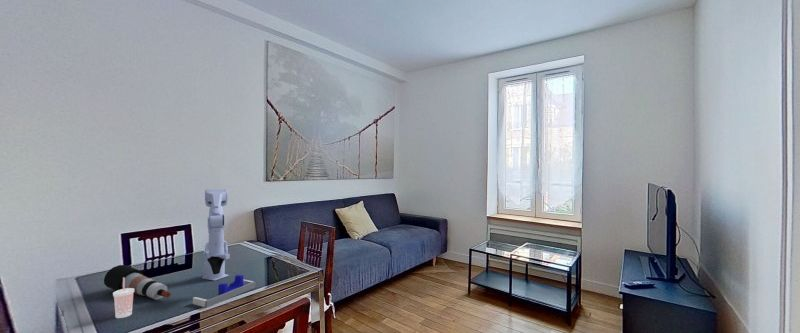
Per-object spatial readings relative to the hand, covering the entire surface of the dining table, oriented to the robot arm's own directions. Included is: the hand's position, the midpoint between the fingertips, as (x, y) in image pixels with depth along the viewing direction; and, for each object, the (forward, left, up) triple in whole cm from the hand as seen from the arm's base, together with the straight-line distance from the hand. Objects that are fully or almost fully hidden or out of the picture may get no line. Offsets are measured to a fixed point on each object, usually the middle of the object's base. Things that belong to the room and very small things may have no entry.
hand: (216, 273), depth 137 cm
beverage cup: (-12, -28, -9) cm, 32 cm away
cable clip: (+6, +2, -9) cm, 11 cm away
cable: (-28, -14, -9) cm, 32 cm away
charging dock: (+6, 0, -8) cm, 10 cm away
